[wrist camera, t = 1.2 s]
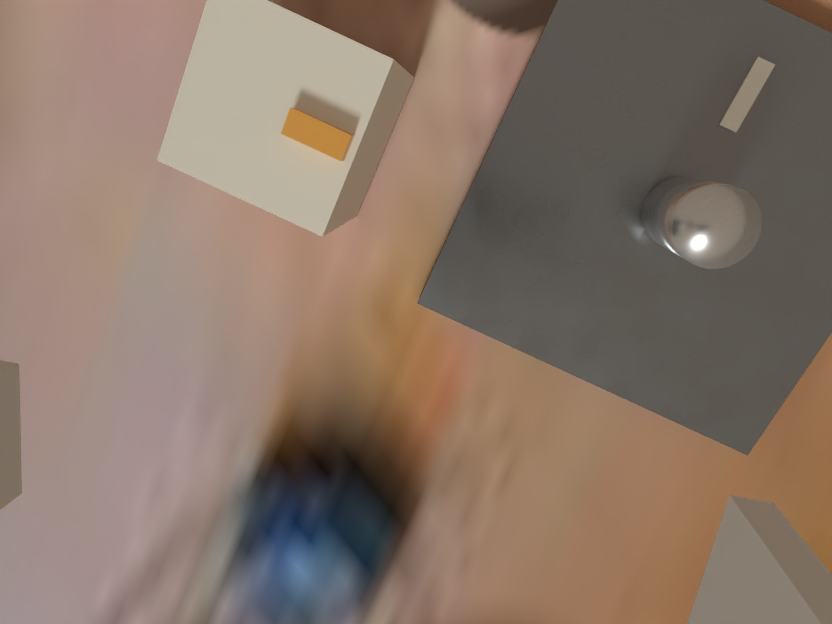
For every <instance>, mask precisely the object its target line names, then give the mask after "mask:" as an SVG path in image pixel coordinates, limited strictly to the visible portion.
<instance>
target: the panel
mask: <svg viewBox="0 0 832 624" xmlns="http://www.w3.org/2000/svg"><path fill="white" fill-rule="evenodd" d="M418 304H420V305H422V306H424V307H426V308H428V309H431V310H433V311H435V312H437V313H439V314H442V315H444V316H446V317H448V318H450V319H452V320H455V321H457V322H459V323H461V324H463V325H465V326H468V327H470V328H472V329H474V330H476V331H478V332H481V333H483V334H485V335H487V336H489V337H492V338H494V339H496V340H498V341H500V342H502V343H505V344H507V345H509V346H511V347H513V348H515V349H518V350H520V351H522V352H524V353H526V354H528V355H531V356H533V357H535V358H537V359H539V360H541V361H544V362H546V363H548V364H550V365H552V366H555V367H557V368H559V369H561V370H563V371H565V372H568V373H570V374H572V375H574V376H576V377H578V378H581V379H583V380H585V381H587V382H589V383H591V384H594V385H596V386H598V387H600V388H602V389H605V390H607V391H609V392H611V393H613V394H615V395H618V396H620V397H622V398H624V399H626V400H628V401H631V402H633V403H635V404H637V405H639V406H641V407H644V408H646V409H648V410H650V411H652V412H654V413H657V414H659V415H661V416H663V417H665V418H668V419H670V420H672V421H674V422H676V423H678V424H681V425H683V426H685V427H687V428H689V429H691V430H694V431H696V432H698V433H700V434H702V435H704V436H707V437H709V438H711V439H713V440H715V441H718V442H720V443H722V444H724V445H726V446H728V447H731V448H733V449H735V450H737V451H739V452H741V453H744V454H746V455H748V454H749V452H750V451H751V450H752V448H753V447H754V445H755V444H756V442H757V441H758V439H759V438H760V436H761V435H762V433H763V432H764V431H765V429H766V428H767V426H768V425H769V423H770V422H771V420H772V419H773V417H774V416H775V414H776V413H777V411H778V410H779V409H780V407H781V406H782V404H783V403H784V401H785V400H786V398H787V397H788V395H789V394H790V392H791V391H792V390H793V388H794V387H795V385H796V384H797V382H798V381H799V379H800V378H801V376H802V375H803V373H804V372H805V371H806V369H807V368H808V366H809V365H810V363H811V362H812V360H813V359H814V357H815V356H816V354H817V353H818V352H819V350H820V349H821V347H822V346H823V344H824V343H825V341H826V340H827V338H828V337H829V335H830V334H831V332H832V32H829V31H827V30H825V29H823V28H821V27H819V26H817V25H815V24H813V23H810V22H808V21H806V20H804V19H802V18H800V17H798V16H796V15H794V14H791V13H789V12H787V11H785V10H783V9H781V8H779V7H777V6H775V5H772V4H770V3H768V2H766V1H764V0H558V1H557V3H556V5H555V7H554V9H553V11H552V14H551V16H550V18H549V20H548V22H547V24H546V26H545V29H544V31H543V33H542V35H541V37H540V39H539V42H538V44H537V46H536V48H535V50H534V52H533V54H532V57H531V59H530V61H529V63H528V65H527V67H526V70H525V72H524V74H523V76H522V78H521V80H520V83H519V85H518V87H517V89H516V91H515V93H514V95H513V98H512V100H511V102H510V104H509V106H508V108H507V111H506V113H505V115H504V117H503V119H502V121H501V123H500V126H499V128H498V130H497V132H496V134H495V136H494V139H493V141H492V143H491V145H490V147H489V149H488V151H487V154H486V156H485V158H484V160H483V162H482V164H481V167H480V169H479V171H478V173H477V175H476V177H475V179H474V182H473V184H472V186H471V188H470V190H469V192H468V195H467V197H466V199H465V201H464V203H463V205H462V207H461V210H460V212H459V214H458V216H457V218H456V220H455V223H454V225H453V227H452V229H451V231H450V233H449V236H448V238H447V240H446V242H445V244H444V246H443V248H442V251H441V253H440V255H439V257H438V259H437V261H436V264H435V266H434V268H433V270H432V272H431V274H430V276H429V279H428V281H427V283H426V285H425V287H424V289H423V292H422V294H421V296H420V298H419V300H418Z"/></svg>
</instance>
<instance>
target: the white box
mask: <svg viewBox="0 0 832 624" xmlns="http://www.w3.org/2000/svg"><path fill="white" fill-rule="evenodd" d="M413 80H414V77H413V76H412V75H411V74H410V73H409V72H407V71H406V70H405V69H404V68H403V67H402V66H401V65H400V64H399V63H397V62H396V61H395V60H394V59H392V58H390V57H388V56H386V55H384V54H381V53H379V52H377V51H375V50H373V49H371V48H369V47H366V46H364V45H362V44H360V43H358V42H356V41H354V40H351V39H349V38H347V37H345V36H343V35H341V34H339V33H336V32H334V31H332V30H330V29H328V28H326V27H324V26H321V25H319V24H317V23H315V22H313V21H311V20H309V19H306V18H304V17H302V16H300V15H298V14H296V13H294V12H291V11H289V10H287V9H285V8H283V7H281V6H279V5H276V4H274V3H272V2H270V1H268V0H207V1H206V5H205V8H204V11H203V14H202V17H201V21H200V24H199V27H198V30H197V34H196V37H195V40H194V43H193V46H192V50H191V53H190V56H189V59H188V63H187V66H186V69H185V72H184V75H183V79H182V82H181V85H180V88H179V92H178V95H177V98H176V101H175V104H174V108H173V111H172V114H171V117H170V121H169V124H168V127H167V130H166V133H165V137H164V140H163V143H162V146H161V150H160V153H159V156H158V159H157V161H159V162H161V163H164V164H166V165H168V166H170V167H172V168H174V169H177V170H179V171H181V172H183V173H185V174H187V175H190V176H192V177H194V178H196V179H198V180H201V181H203V182H205V183H207V184H209V185H211V186H214V187H216V188H218V189H220V190H222V191H224V192H227V193H229V194H231V195H233V196H235V197H237V198H240V199H242V200H244V201H246V202H248V203H250V204H253V205H255V206H257V207H259V208H261V209H263V210H266V211H268V212H270V213H272V214H274V215H276V216H279V217H281V218H283V219H285V220H287V221H289V222H292V223H294V224H296V225H298V226H300V227H303V228H305V229H307V230H309V231H311V232H313V233H316V234H318V235H320V236H322V237H323V236H324V235H326V234H328V233H329V232H331V231H333V230H334V229H336V228H338V227H339V226H341V225H343V224H344V223H346V222H348V221H349V220H351V219H353V218H354V217H356V216H357V215H358V213H359V210H360V208H361V205H362V203H363V200H364V198H365V196H366V193H367V191H368V188H369V186H370V184H371V181H372V179H373V176H374V174H375V172H376V169H377V167H378V164H379V162H380V160H381V157H382V155H383V152H384V150H385V148H386V145H387V143H388V140H389V138H390V135H391V133H392V131H393V128H394V126H395V123H396V121H397V119H398V116H399V114H400V111H401V109H402V107H403V104H404V102H405V99H406V97H407V95H408V92H409V90H410V87H411V85H412V83H413Z"/></svg>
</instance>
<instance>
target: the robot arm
mask: <svg viewBox="0 0 832 624" xmlns="http://www.w3.org/2000/svg"><path fill="white" fill-rule="evenodd" d="M21 493H22V481H21V432H20V382H19V364H17V363H11V362H6V361H0V510H1V509H2V508H3V507H4V506H6V505H7V504H8V503H10V502H11V501H12V500H13V499H15V498H16V497H17V496H19V495H20V494H21ZM688 624H832V574H831V573H830V572H829V570H828V569H827V568H826V567H825V565H824V564H823V563H822V562H821V561H820V559H819V558H818V557H817V556H816V554H815V553H814V552H813V551H812V550H811V548H810V547H809V546H808V545H807V543H806V542H805V541H804V540H803V538H802V537H801V536H800V535H799V534H798V532H797V531H796V530H795V529H794V527H793V526H792V525H791V524H790V523H789V521H788V520H787V519H786V518H785V516H784V515H783V514H782V513H781V511H780V510H779V509H778V508H777V507H776V505H775V504H774V503H769V502H764V501H758V500H753V499H747V498H742V497H737V496H731V495H730V497H729V500H728V503H727V506H726V509H725V512H724V515H723V518H722V521H721V524H720V527H719V530H718V533H717V536H716V539H715V542H714V545H713V548H712V551H711V554H710V557H709V560H708V563H707V566H706V569H705V572H704V575H703V578H702V581H701V584H700V587H699V590H698V593H697V596H696V599H695V602H694V605H693V608H692V611H691V614H690V617H689V620H688Z"/></svg>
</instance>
